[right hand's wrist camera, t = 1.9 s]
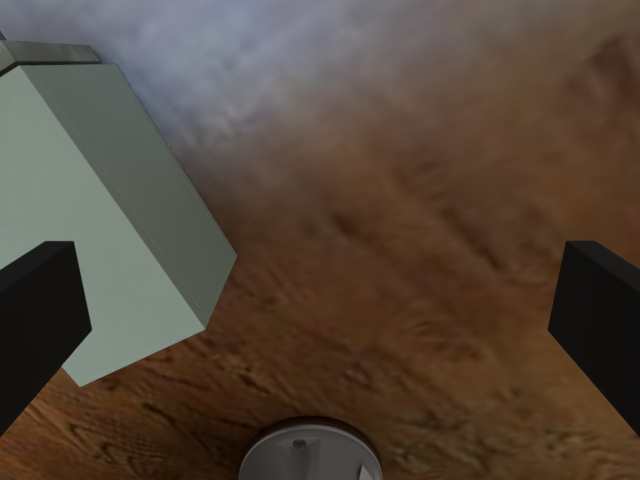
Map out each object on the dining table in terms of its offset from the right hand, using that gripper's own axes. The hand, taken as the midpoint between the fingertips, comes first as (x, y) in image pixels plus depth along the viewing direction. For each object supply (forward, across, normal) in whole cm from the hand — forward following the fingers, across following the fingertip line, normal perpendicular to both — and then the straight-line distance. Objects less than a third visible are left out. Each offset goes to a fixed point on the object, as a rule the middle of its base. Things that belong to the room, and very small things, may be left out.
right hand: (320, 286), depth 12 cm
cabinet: (+26, +16, +4) cm, 31 cm away
